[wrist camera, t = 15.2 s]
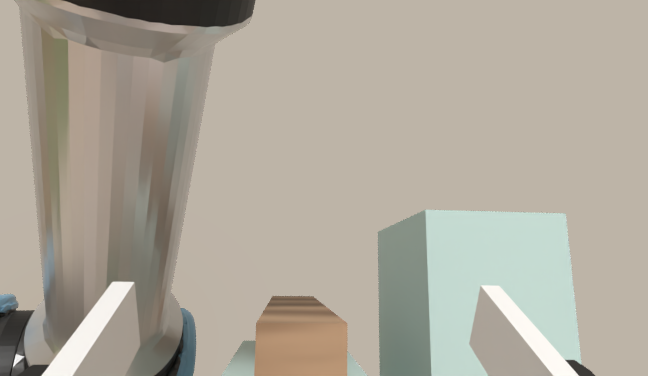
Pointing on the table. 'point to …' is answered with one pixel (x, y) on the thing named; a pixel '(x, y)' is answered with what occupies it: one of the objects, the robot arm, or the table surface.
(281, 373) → the walnut rod
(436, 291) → the step shelf
